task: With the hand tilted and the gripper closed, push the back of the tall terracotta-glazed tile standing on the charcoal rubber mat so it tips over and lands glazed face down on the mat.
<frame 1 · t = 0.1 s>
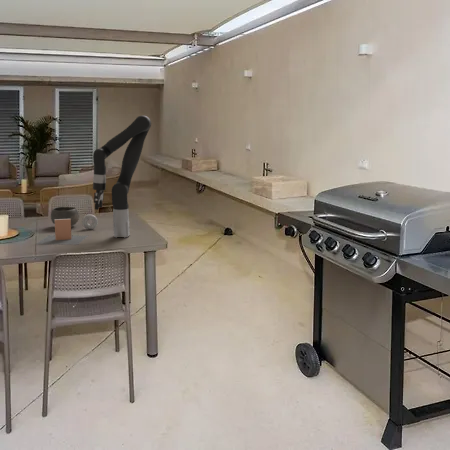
hand: (98, 208, 323), 17 cm above the table, tool pointing down, fingers open, 8 cm apart
bowl: (65, 227, 353), on the table
donut: (90, 229, 346), on the table
mat: (63, 240, 314), on the table
tile: (63, 239, 315), resting on mat
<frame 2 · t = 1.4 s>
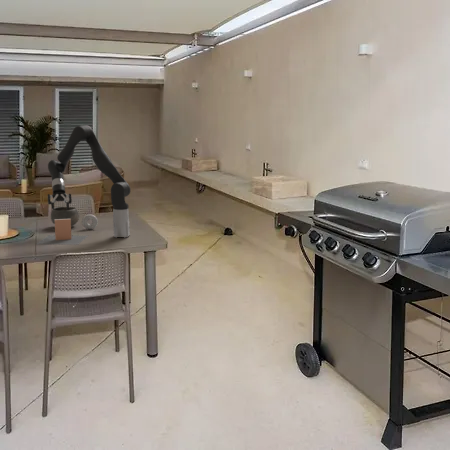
hand: (60, 208, 322), 17 cm above the table, tool tilted 45°, fingers open, 7 cm apart
nothing on the table moved.
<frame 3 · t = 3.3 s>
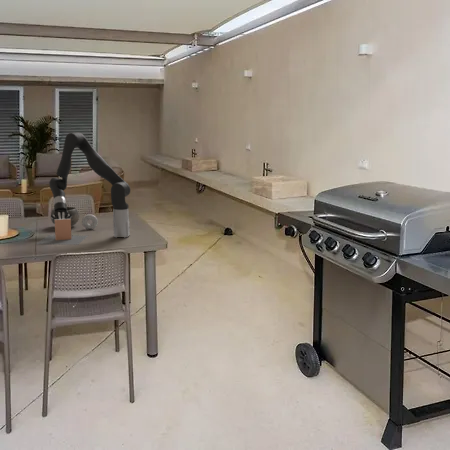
hand: (62, 228, 319), 6 cm above the table, tool tilted 45°, fingers closed
nothing on the table moved.
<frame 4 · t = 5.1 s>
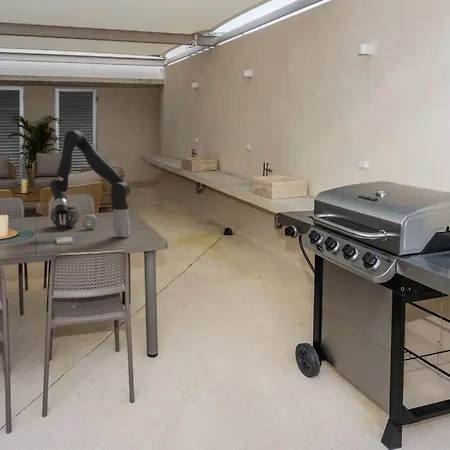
hand: (63, 231, 311), 6 cm above the table, tool tilted 45°, fingers closed
tile: (63, 238, 314), point 1 cm above the table, tilted 90°, touching mat
everything else where it was.
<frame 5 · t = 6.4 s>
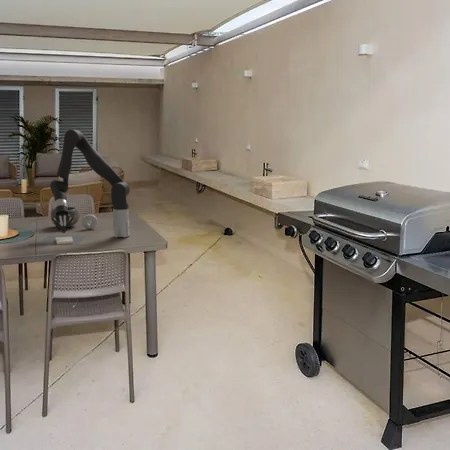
hand: (63, 232, 308), 6 cm above the table, tool tilted 45°, fingers closed
nothing on the table moved.
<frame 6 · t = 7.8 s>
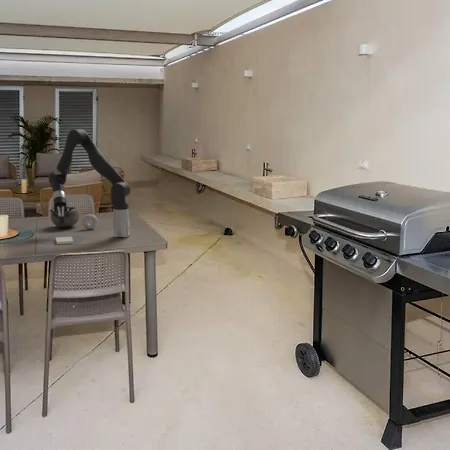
hand: (62, 222, 318), 9 cm above the table, tool tilted 45°, fingers closed
nothing on the table moved.
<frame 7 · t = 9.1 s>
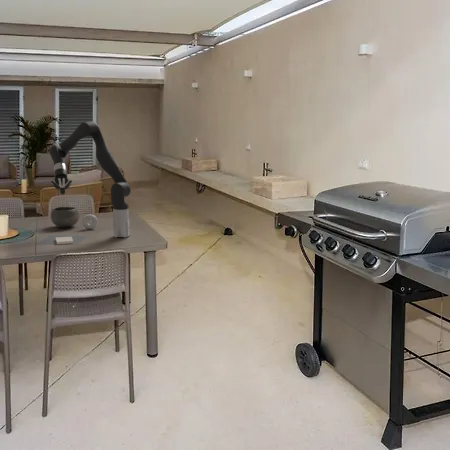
hand: (62, 193, 324), 26 cm above the table, tool tilted 45°, fingers closed
nothing on the table moved.
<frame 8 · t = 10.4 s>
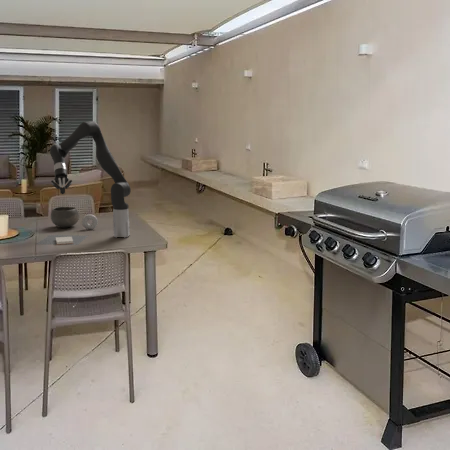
hand: (62, 193, 324), 26 cm above the table, tool tilted 45°, fingers closed
nothing on the table moved.
at the end: tile tilted 90°; tile touching mat; tile inside the target area (1.1 cm from its centre), point 1.3 cm above the table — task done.
